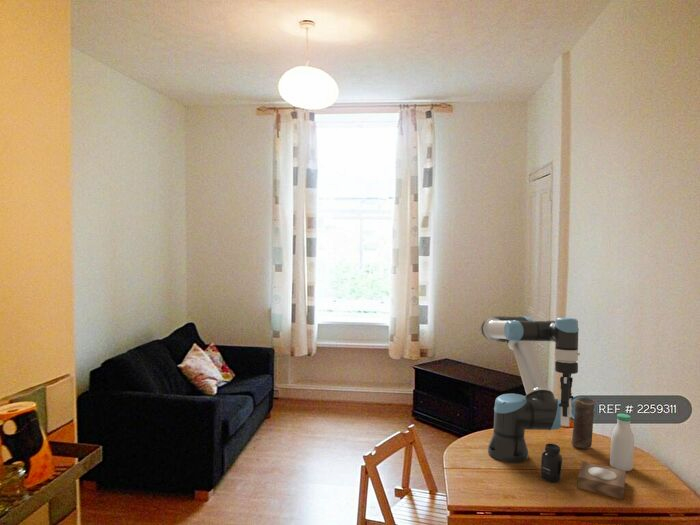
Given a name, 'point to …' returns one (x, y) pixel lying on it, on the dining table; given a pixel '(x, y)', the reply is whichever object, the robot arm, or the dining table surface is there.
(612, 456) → the milk bottle
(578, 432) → the brown cylinder
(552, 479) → the supplement bottle
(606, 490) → the walnut plinth
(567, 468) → the dining table surface
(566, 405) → the robot arm
